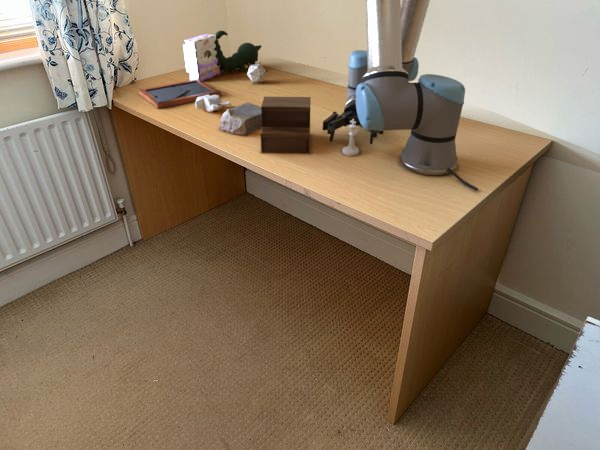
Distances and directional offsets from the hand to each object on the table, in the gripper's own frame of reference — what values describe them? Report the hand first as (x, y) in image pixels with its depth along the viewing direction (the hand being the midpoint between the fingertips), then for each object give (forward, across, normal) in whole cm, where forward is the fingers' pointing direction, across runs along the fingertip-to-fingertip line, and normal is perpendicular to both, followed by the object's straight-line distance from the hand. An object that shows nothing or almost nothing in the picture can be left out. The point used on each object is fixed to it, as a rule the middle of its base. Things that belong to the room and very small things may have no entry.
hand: (351, 138), depth 120 cm
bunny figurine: (-31, +51, -6) cm, 60 cm away
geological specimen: (-18, +35, -6) cm, 40 cm away
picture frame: (-45, +69, -6) cm, 83 cm away
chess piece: (-4, 0, -6) cm, 7 cm away
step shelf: (-7, +20, -6) cm, 22 cm away
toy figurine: (-82, +56, -6) cm, 100 cm away
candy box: (-69, +67, -6) cm, 96 cm away
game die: (-65, +44, -6) cm, 79 cm away
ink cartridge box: (-77, +73, -6) cm, 106 cm away
